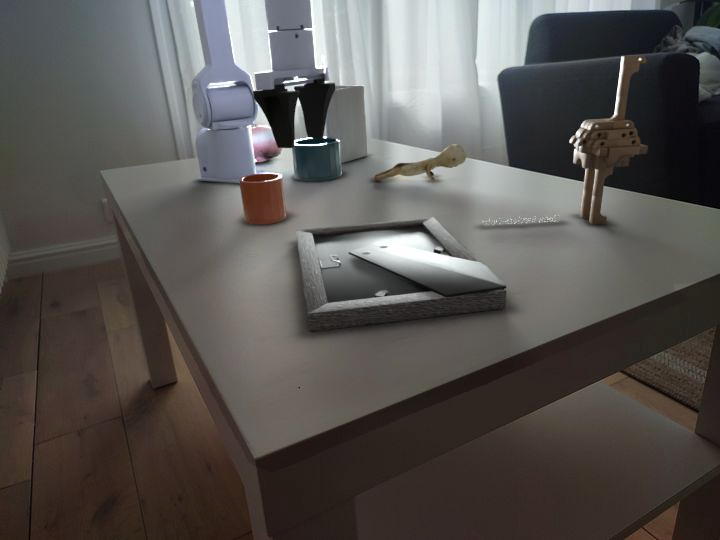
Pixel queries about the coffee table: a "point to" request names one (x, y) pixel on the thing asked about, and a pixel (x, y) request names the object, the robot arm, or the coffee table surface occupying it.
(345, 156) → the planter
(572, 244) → the coffee table surface
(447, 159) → the figurine
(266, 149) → the onion
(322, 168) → the base cup
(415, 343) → the coffee table surface
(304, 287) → the picture frame
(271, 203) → the cup
